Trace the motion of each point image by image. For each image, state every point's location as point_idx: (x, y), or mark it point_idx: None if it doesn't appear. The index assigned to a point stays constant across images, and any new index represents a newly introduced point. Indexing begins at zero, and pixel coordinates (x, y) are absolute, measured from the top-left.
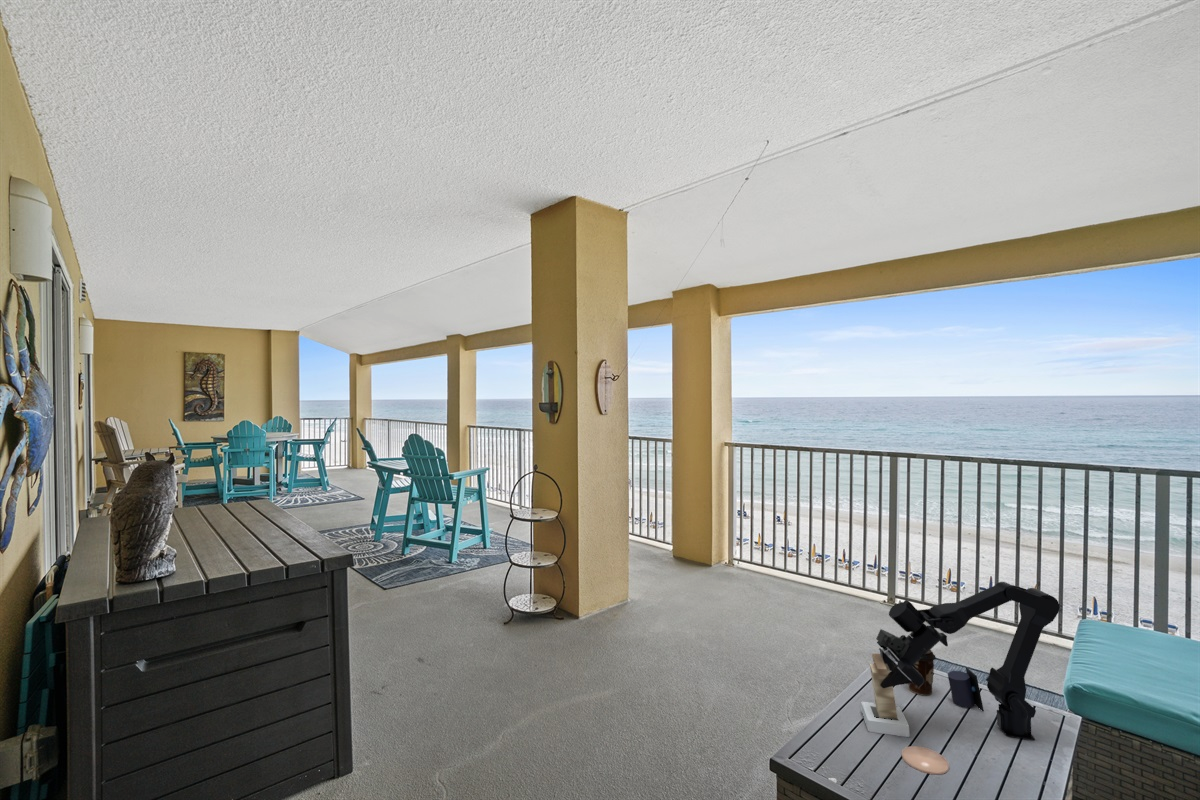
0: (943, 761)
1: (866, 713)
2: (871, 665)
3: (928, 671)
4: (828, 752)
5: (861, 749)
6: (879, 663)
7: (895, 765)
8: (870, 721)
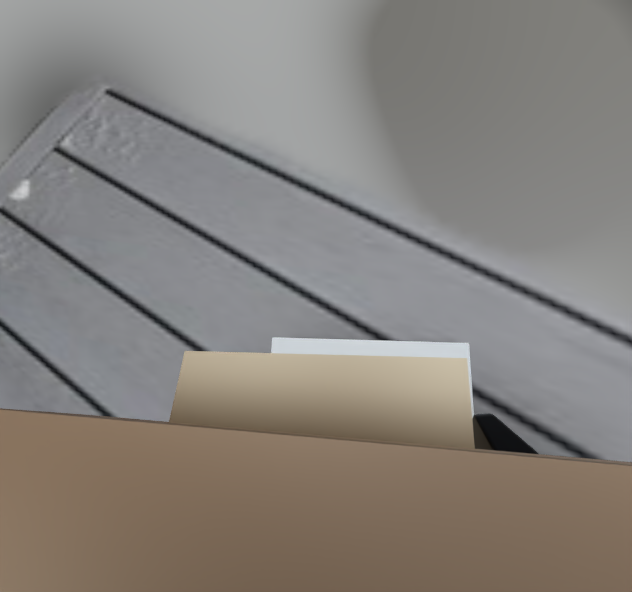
0: None
1: (338, 344)
2: (396, 375)
3: None
4: (138, 188)
5: (162, 293)
6: (97, 533)
7: (79, 392)
8: (273, 349)
